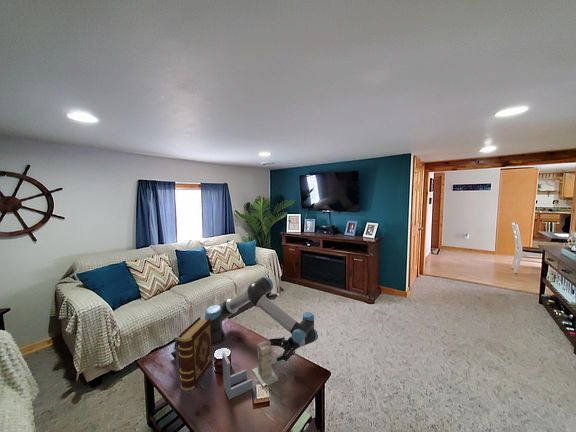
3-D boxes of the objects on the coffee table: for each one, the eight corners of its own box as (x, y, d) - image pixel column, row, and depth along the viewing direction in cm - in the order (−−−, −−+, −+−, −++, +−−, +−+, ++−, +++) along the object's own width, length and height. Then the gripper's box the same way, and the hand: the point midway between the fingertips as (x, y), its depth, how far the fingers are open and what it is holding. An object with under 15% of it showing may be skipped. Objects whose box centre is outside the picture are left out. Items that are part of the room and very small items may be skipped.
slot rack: (223, 387, 130) (222, 353, 128) (246, 377, 137) (245, 344, 135) (229, 399, 122) (227, 363, 120) (252, 388, 129) (251, 354, 127)
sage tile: (252, 370, 142) (252, 369, 142) (266, 364, 147) (266, 363, 147) (262, 387, 129) (262, 386, 129) (278, 380, 134) (278, 378, 134)
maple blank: (258, 372, 139) (257, 344, 137) (267, 368, 142) (266, 340, 140) (262, 379, 134) (261, 350, 132) (271, 375, 137) (271, 346, 135)
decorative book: (191, 391, 127) (188, 339, 124) (178, 389, 129) (175, 338, 126) (212, 362, 149) (210, 317, 146) (201, 360, 151) (199, 316, 148)
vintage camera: (185, 352, 160) (182, 324, 158) (194, 362, 149) (192, 332, 147) (170, 359, 153) (167, 330, 151) (178, 371, 142) (176, 340, 140)
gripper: (307, 359, 138) (276, 374, 127) (286, 337, 159) (257, 348, 148) (307, 347, 137) (276, 361, 126) (285, 326, 158) (257, 337, 147)
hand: (265, 354), depth 137 cm, fingers open, 13 cm apart
